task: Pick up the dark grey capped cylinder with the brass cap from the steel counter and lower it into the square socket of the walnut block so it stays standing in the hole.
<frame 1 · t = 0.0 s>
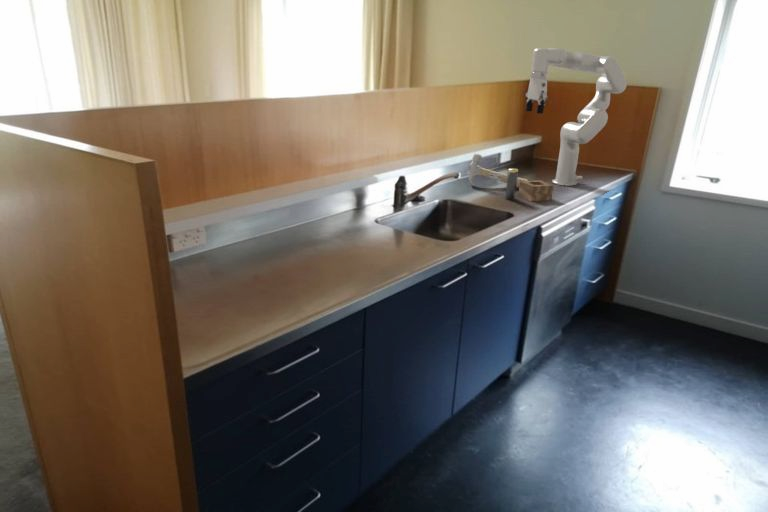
hand: (534, 112, 262), 37 cm above the worktop, tool pointing down, fingers open, 9 cm apart
dark grey capped cylinder: (509, 199, 248), on the worktop
socket block: (534, 197, 252), on the worktop
hammer: (496, 187, 271), on the worktop
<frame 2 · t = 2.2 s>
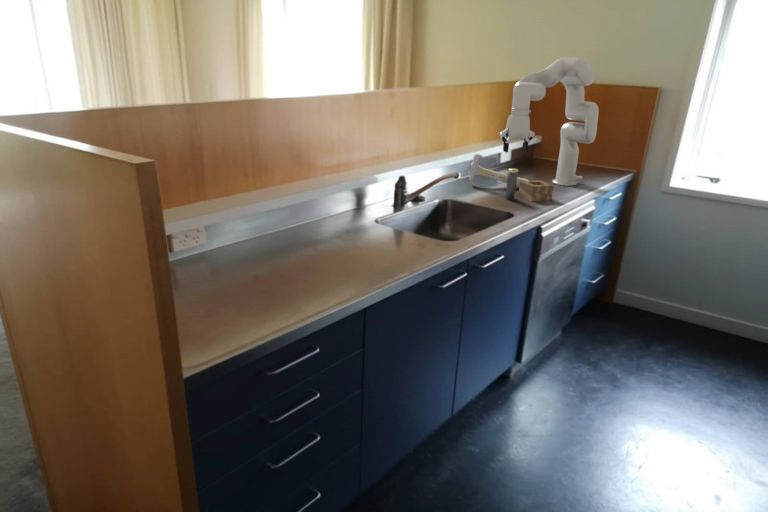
hand: (515, 151, 240), 22 cm above the worktop, tool pointing down, fingers open, 9 cm apart
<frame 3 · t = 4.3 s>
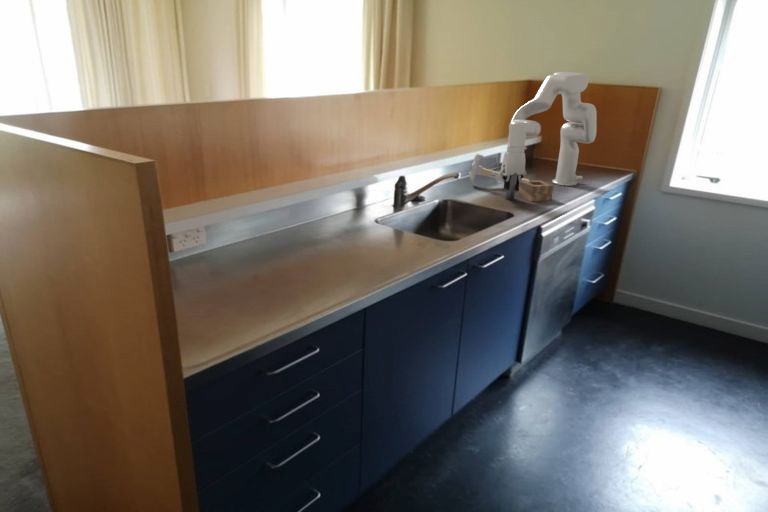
hand: (511, 188, 247), 5 cm above the worktop, tool pointing down, fingers closed on dark grey capped cylinder, 4 cm apart
dark grey capped cylinder: (509, 198, 248), on the worktop, touching gripper
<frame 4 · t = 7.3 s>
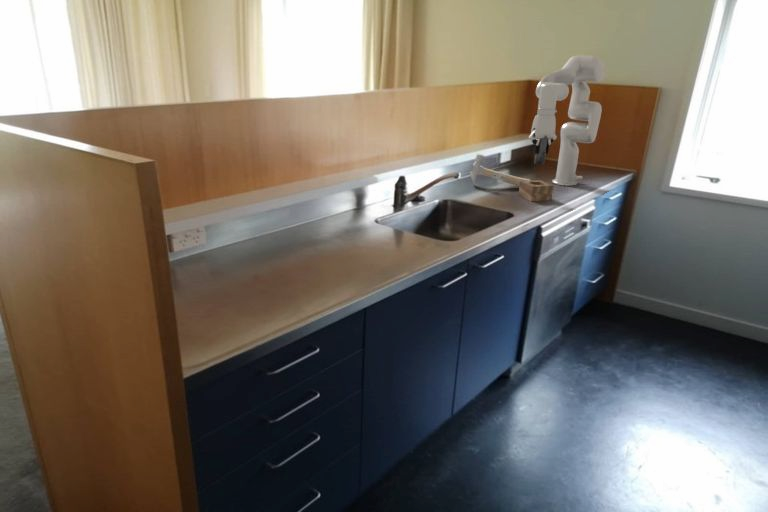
hand: (540, 153, 244), 21 cm above the worktop, tool pointing down, fingers closed on dark grey capped cylinder, 4 cm apart
dark grey capped cylinder: (539, 163, 246), point 16 cm above the worktop, touching gripper
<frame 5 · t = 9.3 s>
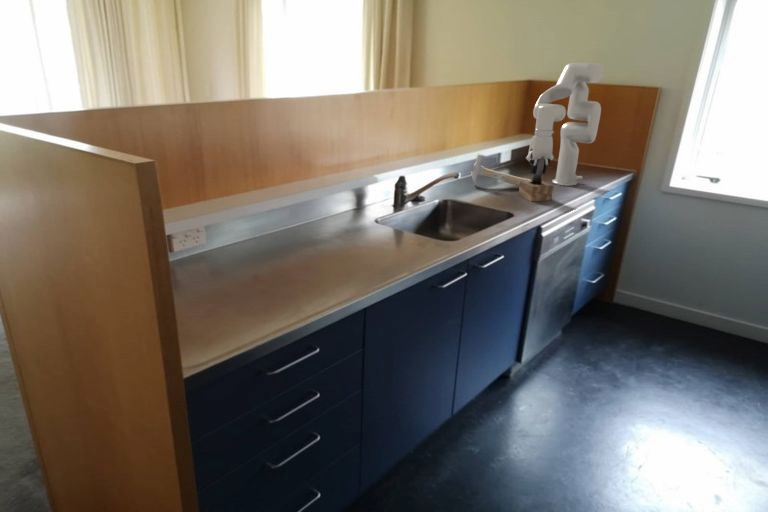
hand: (537, 173, 247), 12 cm above the worktop, tool pointing down, fingers closed on dark grey capped cylinder, 4 cm apart
dark grey capped cylinder: (536, 183, 249), point 7 cm above the worktop, touching gripper
when the fingers open (8 cm above the worktop, at t = 10.7 s): dark grey capped cylinder drops 3 cm, resting in socket block.
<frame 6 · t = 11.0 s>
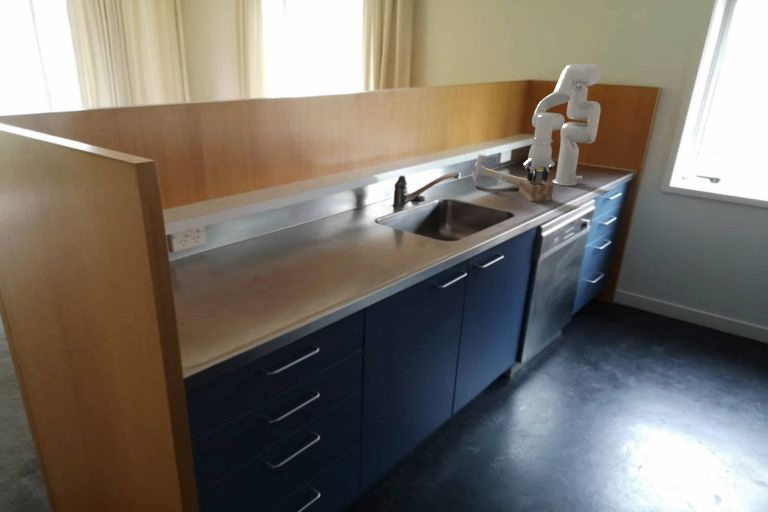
hand: (537, 180, 249), 8 cm above the worktop, tool pointing down, fingers open, 7 cm apart
dark grey capped cylinder: (534, 197, 252), resting in socket block
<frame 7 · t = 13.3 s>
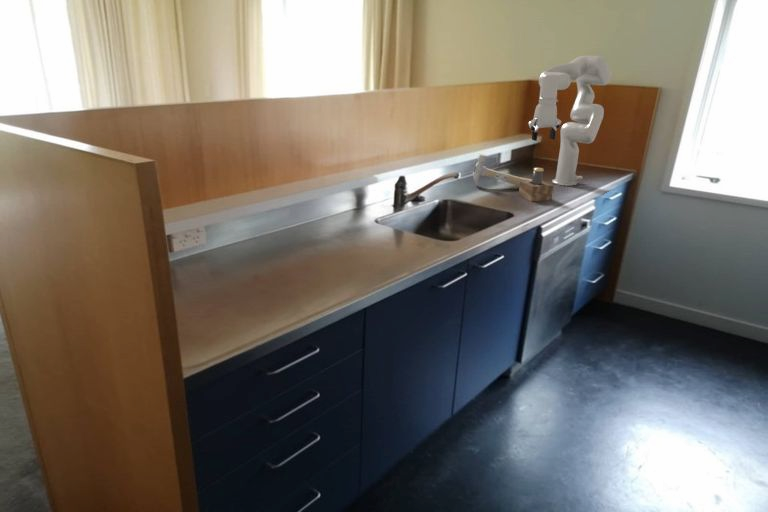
hand: (543, 139, 251), 26 cm above the worktop, tool pointing down, fingers open, 9 cm apart
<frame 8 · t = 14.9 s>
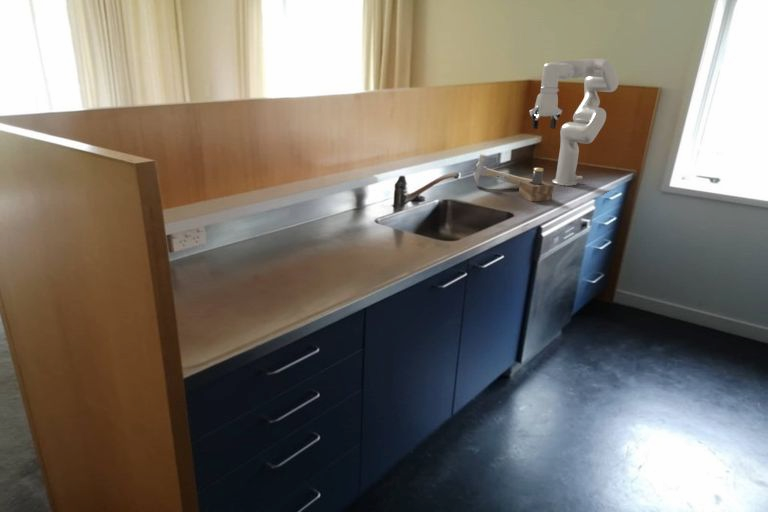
hand: (543, 128, 255), 30 cm above the worktop, tool pointing down, fingers open, 9 cm apart
at the end: dark grey capped cylinder 0.0 cm off-centre on the socket block, point 0.0 cm above the socket block's base; dark grey capped cylinder tilted 0°; the gripper is holding nothing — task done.
